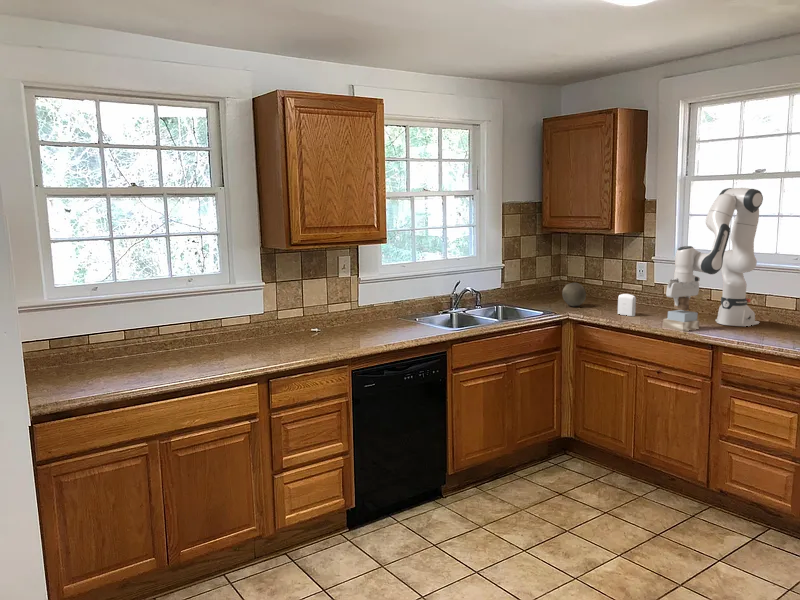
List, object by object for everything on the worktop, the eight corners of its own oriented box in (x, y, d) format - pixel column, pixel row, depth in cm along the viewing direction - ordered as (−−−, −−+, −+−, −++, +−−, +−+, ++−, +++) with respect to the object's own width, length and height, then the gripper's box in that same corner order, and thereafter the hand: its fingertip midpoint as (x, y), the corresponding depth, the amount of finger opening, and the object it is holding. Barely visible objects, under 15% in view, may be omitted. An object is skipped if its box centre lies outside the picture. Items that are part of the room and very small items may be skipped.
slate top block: (680, 317, 336) (680, 309, 335) (697, 320, 327) (697, 312, 327) (667, 318, 331) (667, 311, 330) (684, 322, 322) (684, 314, 322)
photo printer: (616, 314, 371) (617, 293, 370) (620, 313, 374) (621, 292, 372) (632, 316, 364) (633, 295, 362) (636, 316, 366) (637, 294, 364)
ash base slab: (678, 326, 338) (679, 316, 337) (698, 330, 327) (699, 320, 327) (662, 328, 332) (663, 318, 332) (682, 332, 322) (683, 322, 321)
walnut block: (680, 308, 332) (681, 296, 331) (688, 309, 328) (689, 297, 327) (673, 308, 330) (674, 297, 329) (681, 310, 326) (682, 298, 325)
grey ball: (564, 304, 408) (565, 281, 406) (587, 305, 402) (588, 282, 400) (559, 307, 395) (560, 283, 393) (583, 309, 389) (584, 284, 387)
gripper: (674, 280, 319) (672, 307, 321) (702, 277, 328) (700, 304, 330) (663, 278, 325) (662, 305, 327) (691, 276, 334) (689, 302, 336)
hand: (681, 305), depth 329 cm, fingers closed on walnut block, 5 cm apart
